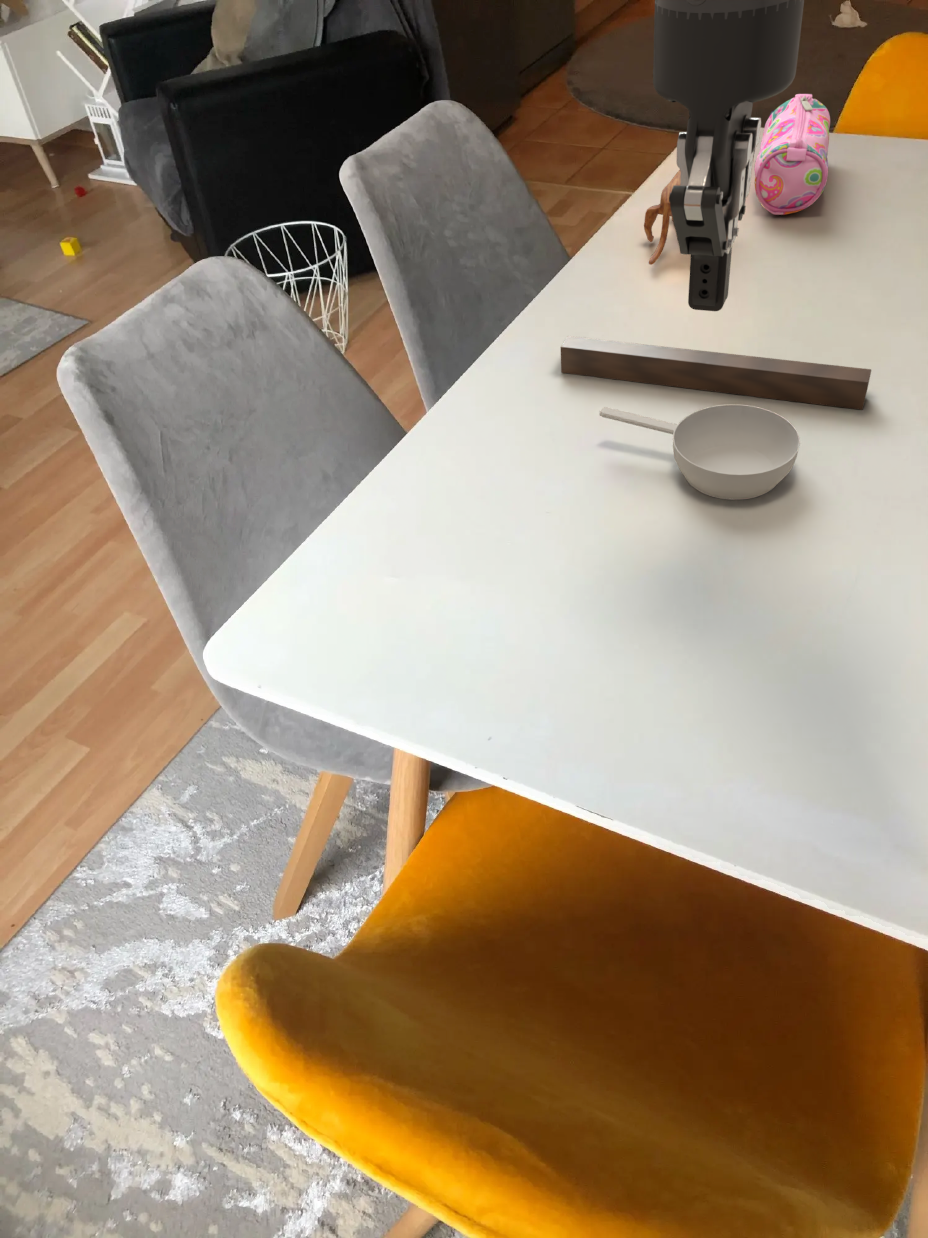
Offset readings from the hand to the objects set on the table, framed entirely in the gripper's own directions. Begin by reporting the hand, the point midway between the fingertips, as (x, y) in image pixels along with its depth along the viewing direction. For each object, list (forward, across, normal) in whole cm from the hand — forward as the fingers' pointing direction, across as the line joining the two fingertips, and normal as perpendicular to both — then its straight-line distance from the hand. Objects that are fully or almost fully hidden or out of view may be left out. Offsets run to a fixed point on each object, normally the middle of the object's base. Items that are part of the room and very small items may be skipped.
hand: (707, 304), depth 61 cm
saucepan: (+23, +15, +3) cm, 28 cm away
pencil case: (+23, +80, +6) cm, 83 cm away
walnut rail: (+23, +29, +5) cm, 37 cm away
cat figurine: (+22, +60, +16) cm, 66 cm away
